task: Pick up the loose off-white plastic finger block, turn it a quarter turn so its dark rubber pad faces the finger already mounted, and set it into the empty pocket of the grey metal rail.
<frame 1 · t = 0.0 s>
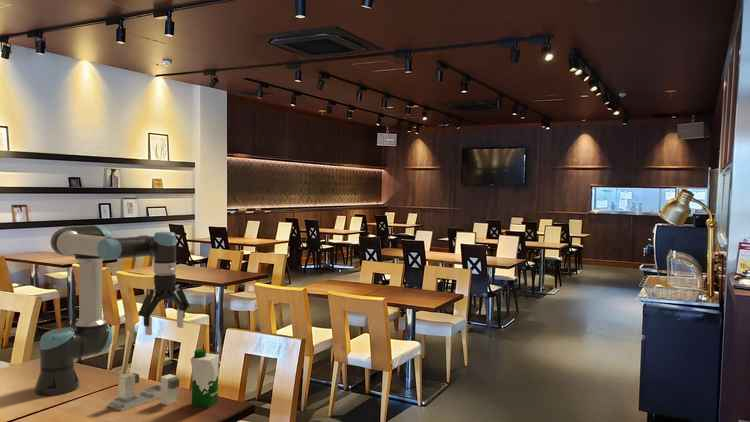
hand: (164, 331, 205), 28 cm above the table, fingers open, 13 cm apart
rail: (141, 399, 212), on the table
milk carton: (204, 404, 209), on the table
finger: (168, 402, 209), on the table
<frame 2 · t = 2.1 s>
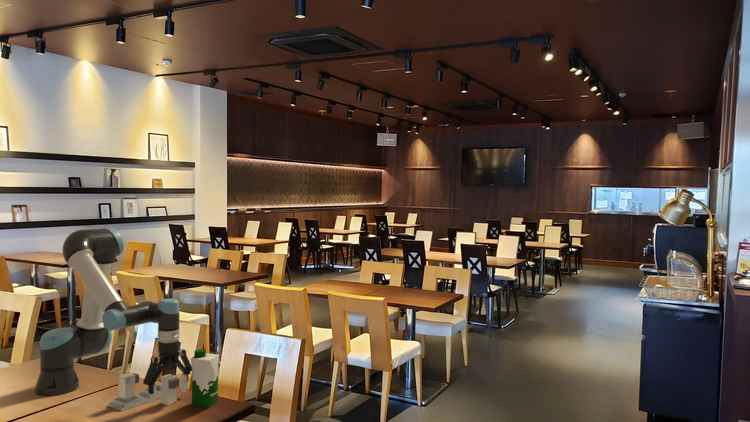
hand: (168, 396, 209), 2 cm above the table, fingers open, 13 cm apart
nothing on the table moved.
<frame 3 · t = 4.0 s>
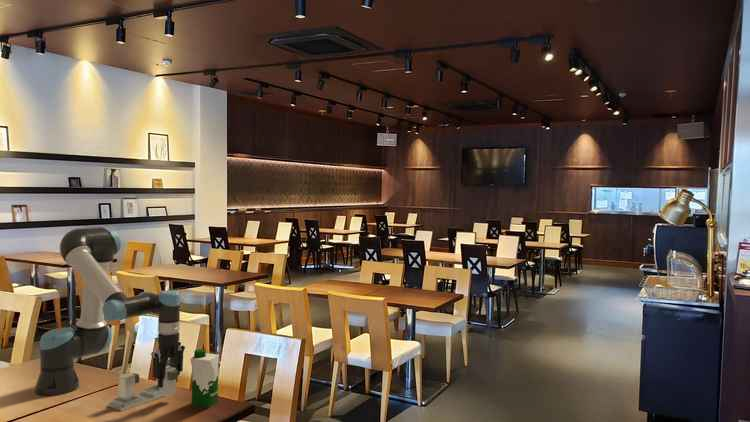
hand: (167, 393, 209), 3 cm above the table, fingers closed on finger, 4 cm apart
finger: (167, 394, 210), point 3 cm above the table, touching gripper
everything else where it was.
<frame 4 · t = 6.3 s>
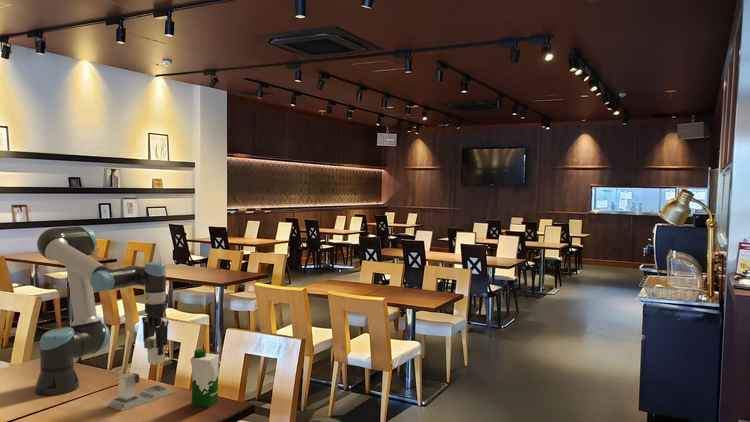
hand: (155, 361, 216), 13 cm above the table, fingers closed on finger, 4 cm apart
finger: (155, 362, 217), point 13 cm above the table, touching gripper
everything else where it was.
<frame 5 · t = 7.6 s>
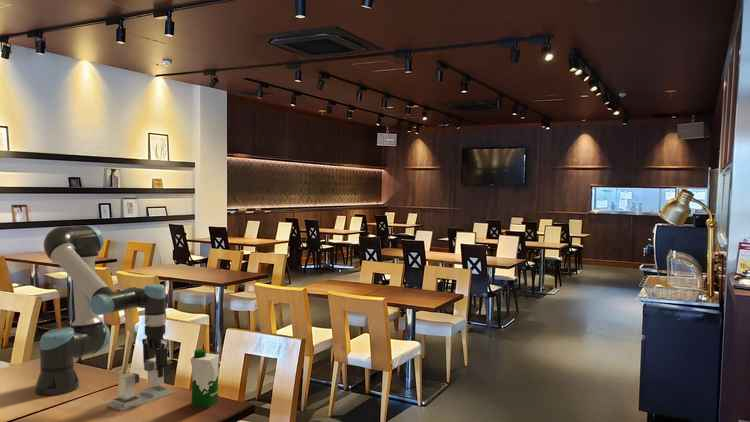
hand: (155, 383, 217), 4 cm above the table, fingers closed on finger, 4 cm apart
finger: (155, 384, 217), point 4 cm above the table, touching gripper
everything else where it was.
when the fingers open (3 cm above the table, at t = 8.6 s): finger drops 1 cm, resting on rail.
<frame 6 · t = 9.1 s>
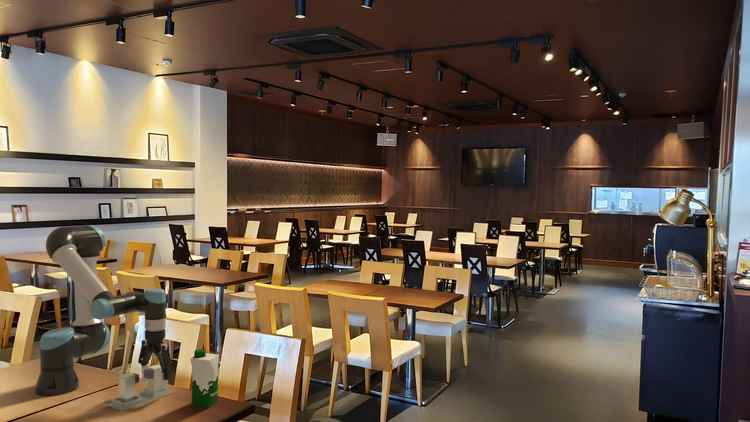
hand: (154, 384, 217), 4 cm above the table, fingers open, 11 cm apart
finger: (155, 392, 217), point 1 cm above the table, touching rail
everything else where it was.
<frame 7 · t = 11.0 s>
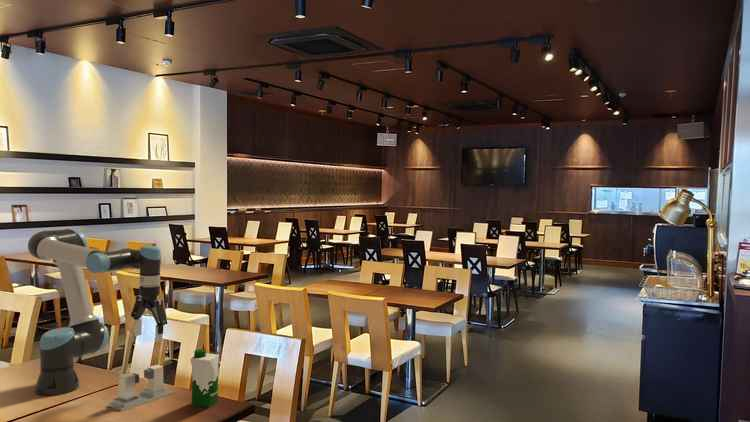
hand: (148, 338, 219), 21 cm above the table, fingers open, 13 cm apart
nothing on the table moved.
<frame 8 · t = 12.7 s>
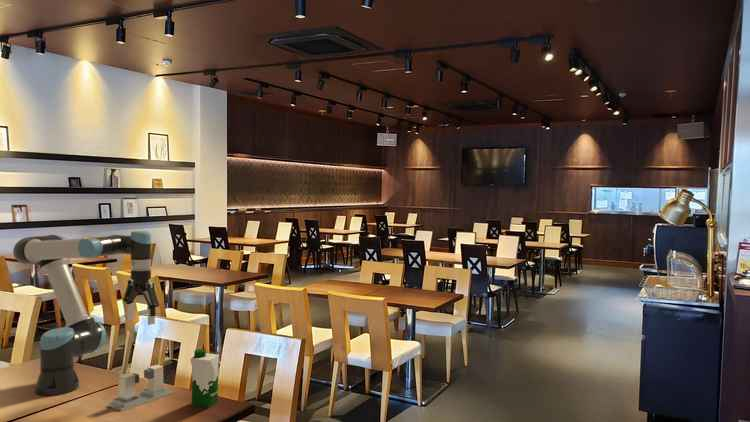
hand: (140, 321, 224), 27 cm above the table, fingers open, 13 cm apart
nothing on the table moved.
at the end: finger 0.3 cm from the target spot on the rail, point 1.0 cm above the rail's base; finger tilted 0°; the gripper is holding nothing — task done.
